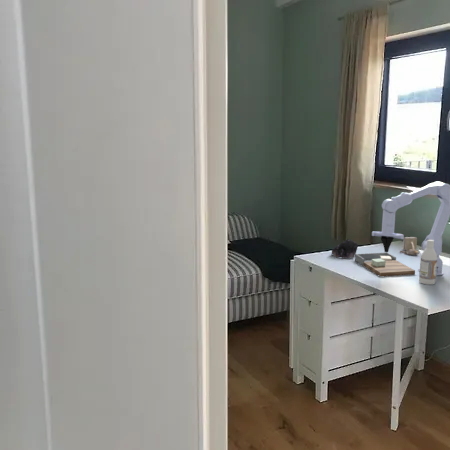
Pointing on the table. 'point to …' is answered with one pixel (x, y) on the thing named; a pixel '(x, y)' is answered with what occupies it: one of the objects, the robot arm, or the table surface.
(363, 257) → the box
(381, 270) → the walnut plate
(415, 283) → the table surface
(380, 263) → the sage tile
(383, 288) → the table surface
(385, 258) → the cream tile
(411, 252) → the decorative sculpture
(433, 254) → the bath foam
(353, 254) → the crystal cluster
